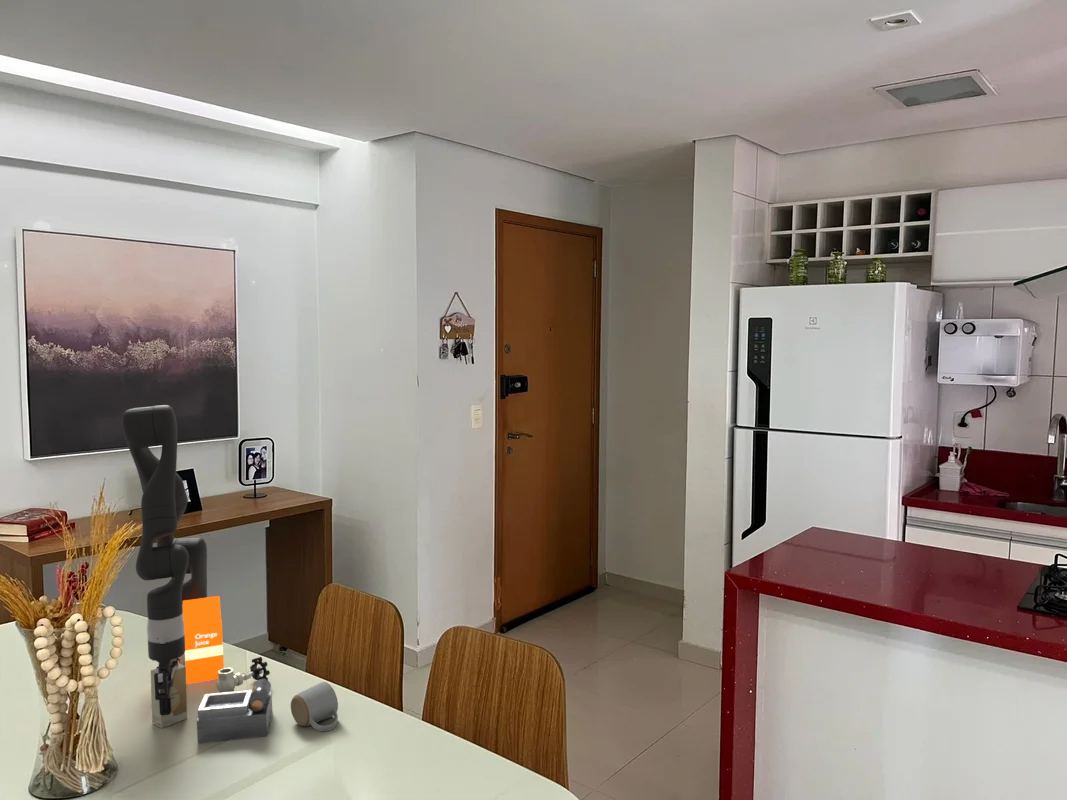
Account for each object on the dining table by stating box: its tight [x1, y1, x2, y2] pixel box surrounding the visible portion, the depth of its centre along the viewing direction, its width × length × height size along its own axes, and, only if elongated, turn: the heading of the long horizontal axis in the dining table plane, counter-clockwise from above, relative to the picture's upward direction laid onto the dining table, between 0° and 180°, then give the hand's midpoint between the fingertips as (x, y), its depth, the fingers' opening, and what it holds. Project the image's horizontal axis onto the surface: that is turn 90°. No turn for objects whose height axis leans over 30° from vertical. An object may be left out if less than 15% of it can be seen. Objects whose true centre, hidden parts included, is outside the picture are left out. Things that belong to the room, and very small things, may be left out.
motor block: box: [196, 679, 273, 744], centre depth 179 cm, size 11×14×9 cm
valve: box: [216, 656, 271, 693], centre depth 197 cm, size 7×7×12 cm
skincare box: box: [150, 663, 188, 729], centre depth 182 cm, size 6×4×12 cm
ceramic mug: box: [290, 681, 339, 732], centre depth 181 cm, size 11×8×8 cm
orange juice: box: [183, 595, 225, 685], centre depth 206 cm, size 8×9×20 cm
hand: (169, 706), depth 183 cm, fingers closed on skincare box, 7 cm apart
